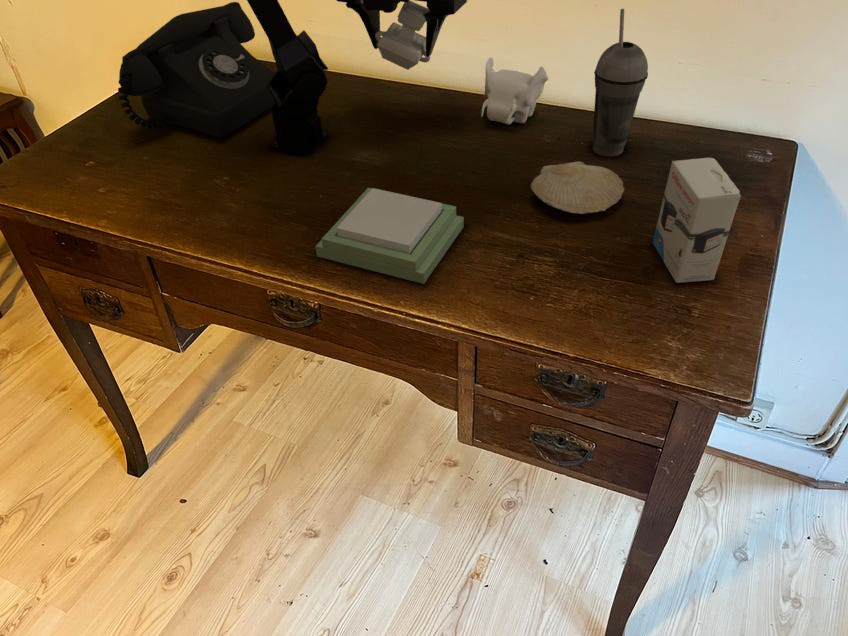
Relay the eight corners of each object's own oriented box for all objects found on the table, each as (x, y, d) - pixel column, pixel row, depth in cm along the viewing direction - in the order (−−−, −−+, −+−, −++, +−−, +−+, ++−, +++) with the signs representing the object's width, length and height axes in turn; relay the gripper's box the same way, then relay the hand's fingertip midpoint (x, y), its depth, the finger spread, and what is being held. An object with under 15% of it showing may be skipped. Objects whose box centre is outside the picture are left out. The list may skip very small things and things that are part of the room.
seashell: (596, 233, 95) (599, 214, 93) (515, 206, 100) (517, 187, 98) (631, 192, 101) (635, 173, 99) (554, 169, 106) (556, 151, 104)
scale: (316, 256, 94) (313, 237, 92) (363, 204, 102) (361, 185, 100) (424, 284, 89) (423, 264, 87) (463, 227, 97) (464, 207, 95)
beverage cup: (633, 162, 107) (662, 20, 93) (582, 159, 108) (603, 18, 94) (632, 138, 112) (659, 0, 98) (583, 135, 113) (603, -2, 99)
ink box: (650, 242, 93) (670, 158, 84) (688, 239, 93) (712, 155, 85) (674, 284, 87) (698, 198, 78) (715, 281, 87) (743, 194, 79)
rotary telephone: (235, 69, 137) (218, -17, 126) (310, 87, 130) (298, -2, 119) (111, 140, 119) (79, 46, 108) (190, 165, 112) (164, 68, 101)
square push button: (337, 238, 92) (336, 227, 91) (373, 197, 98) (372, 187, 97) (409, 255, 89) (409, 245, 88) (441, 213, 95) (441, 202, 94)
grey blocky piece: (429, 63, 115) (449, 12, 109) (419, 81, 111) (439, 29, 104) (377, 39, 114) (393, -14, 108) (365, 56, 110) (381, 2, 104)
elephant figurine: (465, 128, 116) (466, 73, 110) (497, 98, 123) (500, 44, 117) (521, 141, 113) (525, 85, 106) (550, 109, 120) (556, 54, 114)
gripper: (310, -52, 98) (323, 64, 109) (438, -39, 92) (438, 82, 103) (348, -74, 106) (357, 36, 117) (470, -64, 100) (467, 52, 110)
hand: (402, 51), depth 112 cm, fingers closed on grey blocky piece, 8 cm apart
